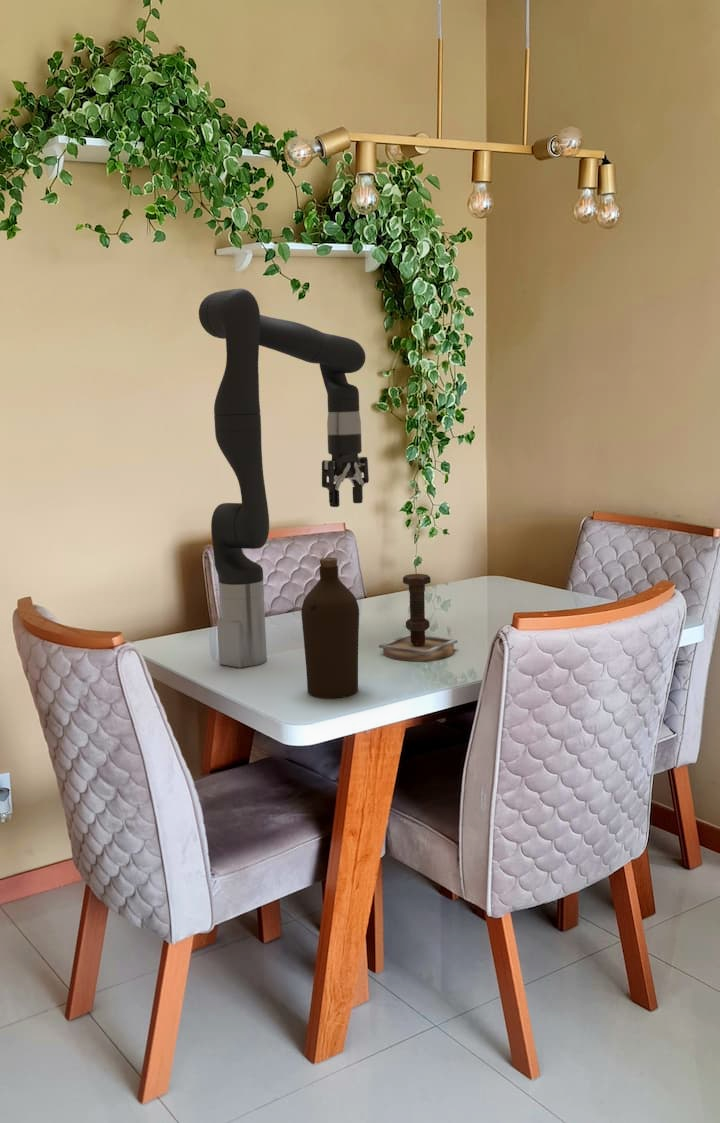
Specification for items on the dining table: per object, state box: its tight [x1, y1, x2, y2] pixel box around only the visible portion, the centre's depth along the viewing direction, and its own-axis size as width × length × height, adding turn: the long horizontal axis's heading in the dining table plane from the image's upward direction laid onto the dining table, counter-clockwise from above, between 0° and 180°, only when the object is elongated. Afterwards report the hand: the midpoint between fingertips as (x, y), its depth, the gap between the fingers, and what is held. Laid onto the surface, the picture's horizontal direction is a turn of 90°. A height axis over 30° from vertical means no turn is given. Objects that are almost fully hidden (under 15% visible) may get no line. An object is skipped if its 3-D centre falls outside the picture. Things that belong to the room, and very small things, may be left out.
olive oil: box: [300, 557, 360, 699], centre depth 182 cm, size 11×11×25 cm
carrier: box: [378, 633, 458, 662], centre depth 211 cm, size 15×15×2 cm
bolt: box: [402, 573, 431, 646], centre depth 209 cm, size 6×5×15 cm
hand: (346, 504), depth 223 cm, fingers open, 8 cm apart
